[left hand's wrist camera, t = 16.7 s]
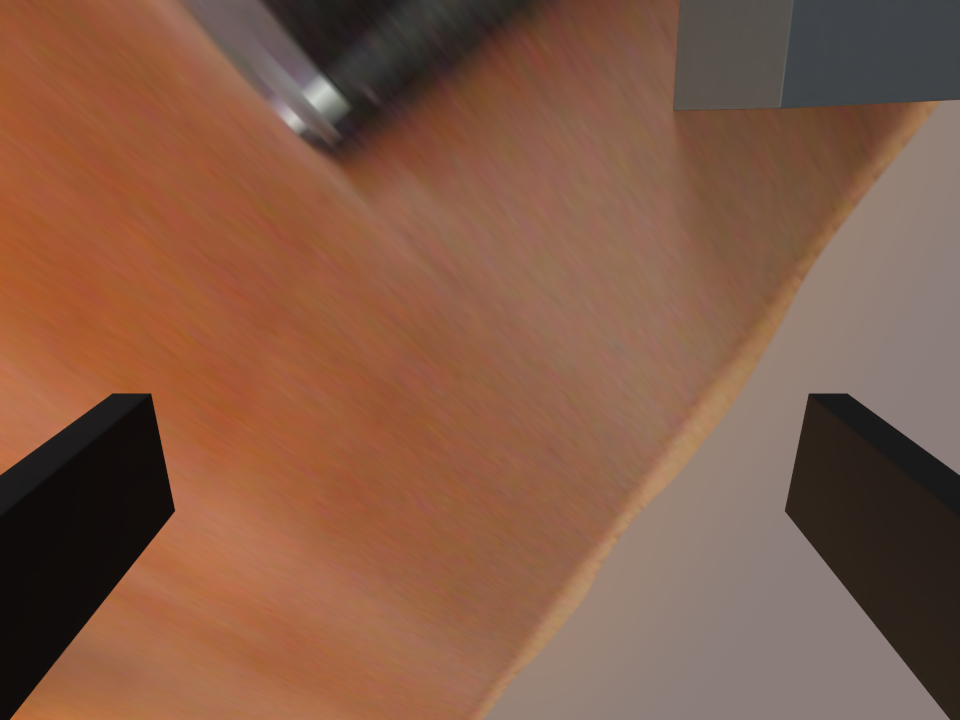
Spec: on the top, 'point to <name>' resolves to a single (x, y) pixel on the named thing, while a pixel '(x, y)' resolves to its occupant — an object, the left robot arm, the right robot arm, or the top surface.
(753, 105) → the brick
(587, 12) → the top surface
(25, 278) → the top surface
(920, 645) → the left robot arm
